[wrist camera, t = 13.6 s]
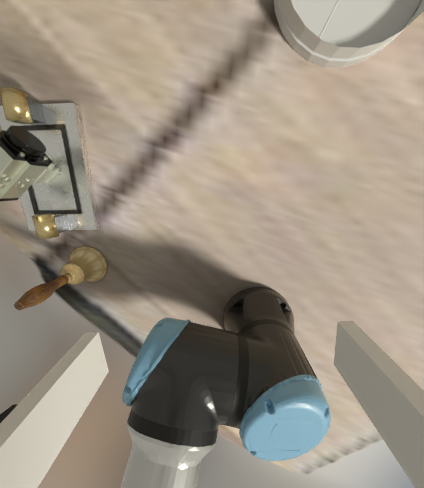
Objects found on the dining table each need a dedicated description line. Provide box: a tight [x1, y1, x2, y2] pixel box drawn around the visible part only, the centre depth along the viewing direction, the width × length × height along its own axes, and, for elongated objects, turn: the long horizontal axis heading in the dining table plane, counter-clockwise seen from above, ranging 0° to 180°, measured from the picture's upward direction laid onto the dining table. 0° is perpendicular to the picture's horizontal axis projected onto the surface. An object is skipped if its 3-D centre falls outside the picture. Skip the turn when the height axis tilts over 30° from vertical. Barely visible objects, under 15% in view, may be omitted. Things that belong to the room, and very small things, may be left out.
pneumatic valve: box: [0, 125, 60, 201], centre depth 32 cm, size 6×12×12 cm, turn 129°
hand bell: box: [14, 246, 107, 310], centre depth 37 cm, size 8×8×16 cm
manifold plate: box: [0, 87, 100, 239], centre depth 36 cm, size 23×14×7 cm, turn 1°
